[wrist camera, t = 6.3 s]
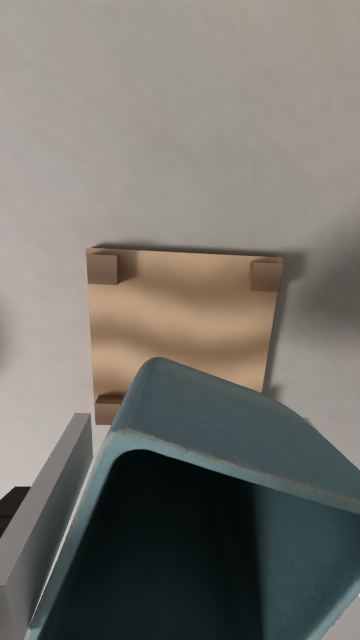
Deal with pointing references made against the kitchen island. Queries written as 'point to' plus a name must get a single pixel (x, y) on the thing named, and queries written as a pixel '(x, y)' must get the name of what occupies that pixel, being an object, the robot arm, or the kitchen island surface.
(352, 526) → the flower pot
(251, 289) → the trivet
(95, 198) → the kitchen island surface
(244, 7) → the kitchen island surface
